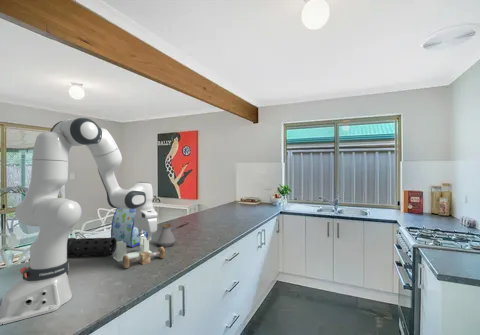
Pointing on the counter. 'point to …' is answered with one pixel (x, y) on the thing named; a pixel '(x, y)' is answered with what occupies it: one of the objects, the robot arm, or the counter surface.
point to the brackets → (143, 248)
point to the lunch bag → (125, 227)
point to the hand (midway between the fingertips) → (145, 238)
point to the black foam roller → (91, 246)
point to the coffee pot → (168, 235)
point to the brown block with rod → (143, 257)
